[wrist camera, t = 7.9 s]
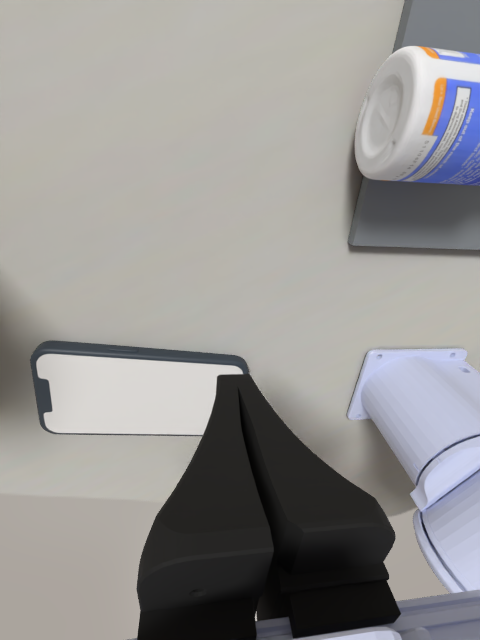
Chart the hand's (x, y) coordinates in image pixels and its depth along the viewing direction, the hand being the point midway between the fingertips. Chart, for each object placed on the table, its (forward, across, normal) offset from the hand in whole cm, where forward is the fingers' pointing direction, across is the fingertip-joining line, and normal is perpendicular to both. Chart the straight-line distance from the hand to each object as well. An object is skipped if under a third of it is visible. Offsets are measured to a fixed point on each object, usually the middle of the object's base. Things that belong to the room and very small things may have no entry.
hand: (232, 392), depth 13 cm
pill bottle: (+7, -7, -11) cm, 15 cm away
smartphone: (+11, +6, +9) cm, 15 cm away
